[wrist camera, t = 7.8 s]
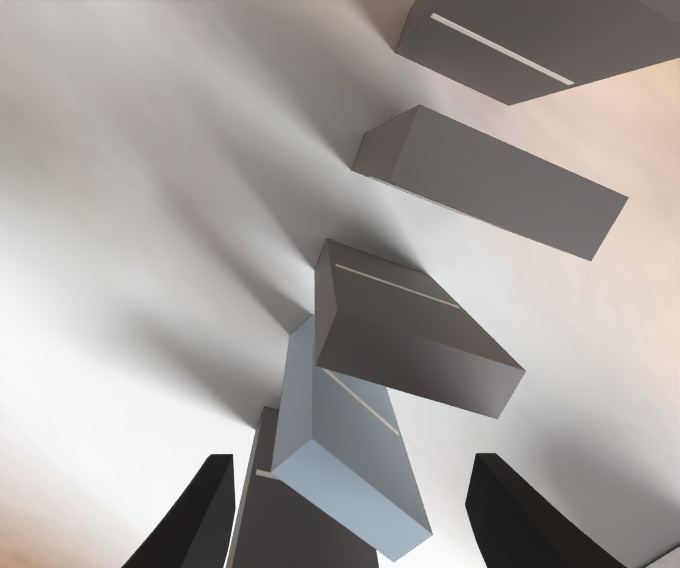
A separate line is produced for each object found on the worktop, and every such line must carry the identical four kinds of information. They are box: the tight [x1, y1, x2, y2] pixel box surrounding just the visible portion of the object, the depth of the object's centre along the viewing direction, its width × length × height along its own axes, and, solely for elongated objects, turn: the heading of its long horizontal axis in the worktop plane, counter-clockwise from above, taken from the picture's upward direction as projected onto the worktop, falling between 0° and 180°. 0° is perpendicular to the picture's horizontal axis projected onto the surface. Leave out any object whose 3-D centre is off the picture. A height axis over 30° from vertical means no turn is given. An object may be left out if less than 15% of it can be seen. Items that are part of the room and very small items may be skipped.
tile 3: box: [315, 239, 526, 419], centre depth 13 cm, size 2×5×8 cm, turn 69°
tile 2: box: [351, 105, 629, 261], centre depth 11 cm, size 2×5×8 cm, turn 70°
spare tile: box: [271, 314, 433, 562], centre depth 14 cm, size 2×5×8 cm, turn 43°
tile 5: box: [226, 407, 379, 568], centre depth 15 cm, size 2×5×8 cm, turn 70°
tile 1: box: [395, 0, 680, 106], centre depth 10 cm, size 2×5×8 cm, turn 70°
